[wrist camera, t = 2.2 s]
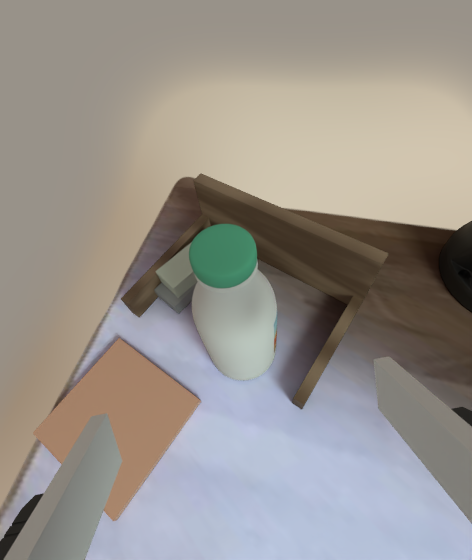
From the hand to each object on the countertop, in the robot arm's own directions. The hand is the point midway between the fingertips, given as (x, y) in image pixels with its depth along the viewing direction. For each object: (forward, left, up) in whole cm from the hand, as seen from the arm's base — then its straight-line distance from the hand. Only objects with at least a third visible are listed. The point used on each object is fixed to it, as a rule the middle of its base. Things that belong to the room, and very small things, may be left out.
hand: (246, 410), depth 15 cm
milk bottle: (-7, -7, -20) cm, 23 cm away
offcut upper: (-13, -18, -18) cm, 29 cm away
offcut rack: (-12, -10, -20) cm, 26 cm away
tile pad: (+7, -14, -20) cm, 25 cm away
